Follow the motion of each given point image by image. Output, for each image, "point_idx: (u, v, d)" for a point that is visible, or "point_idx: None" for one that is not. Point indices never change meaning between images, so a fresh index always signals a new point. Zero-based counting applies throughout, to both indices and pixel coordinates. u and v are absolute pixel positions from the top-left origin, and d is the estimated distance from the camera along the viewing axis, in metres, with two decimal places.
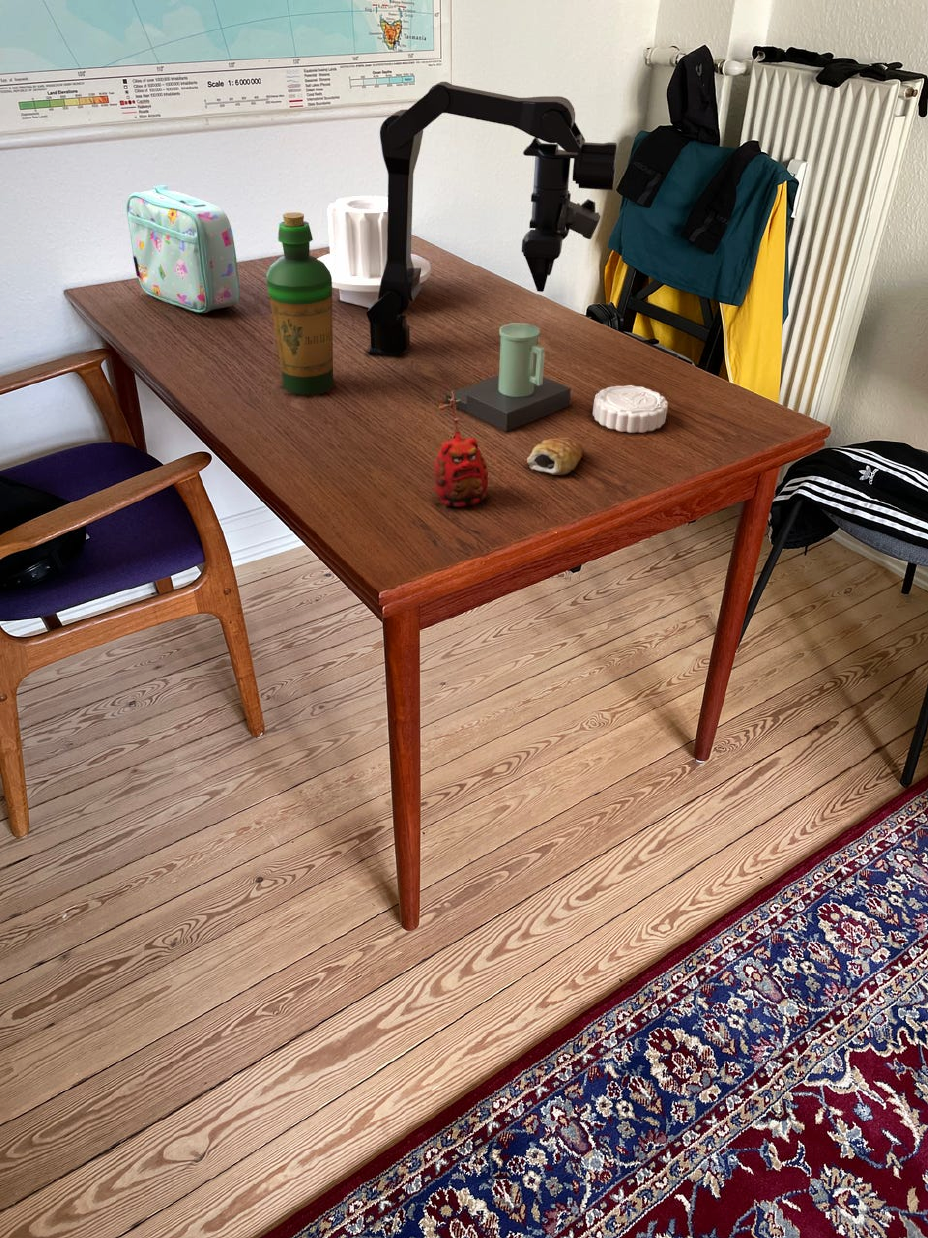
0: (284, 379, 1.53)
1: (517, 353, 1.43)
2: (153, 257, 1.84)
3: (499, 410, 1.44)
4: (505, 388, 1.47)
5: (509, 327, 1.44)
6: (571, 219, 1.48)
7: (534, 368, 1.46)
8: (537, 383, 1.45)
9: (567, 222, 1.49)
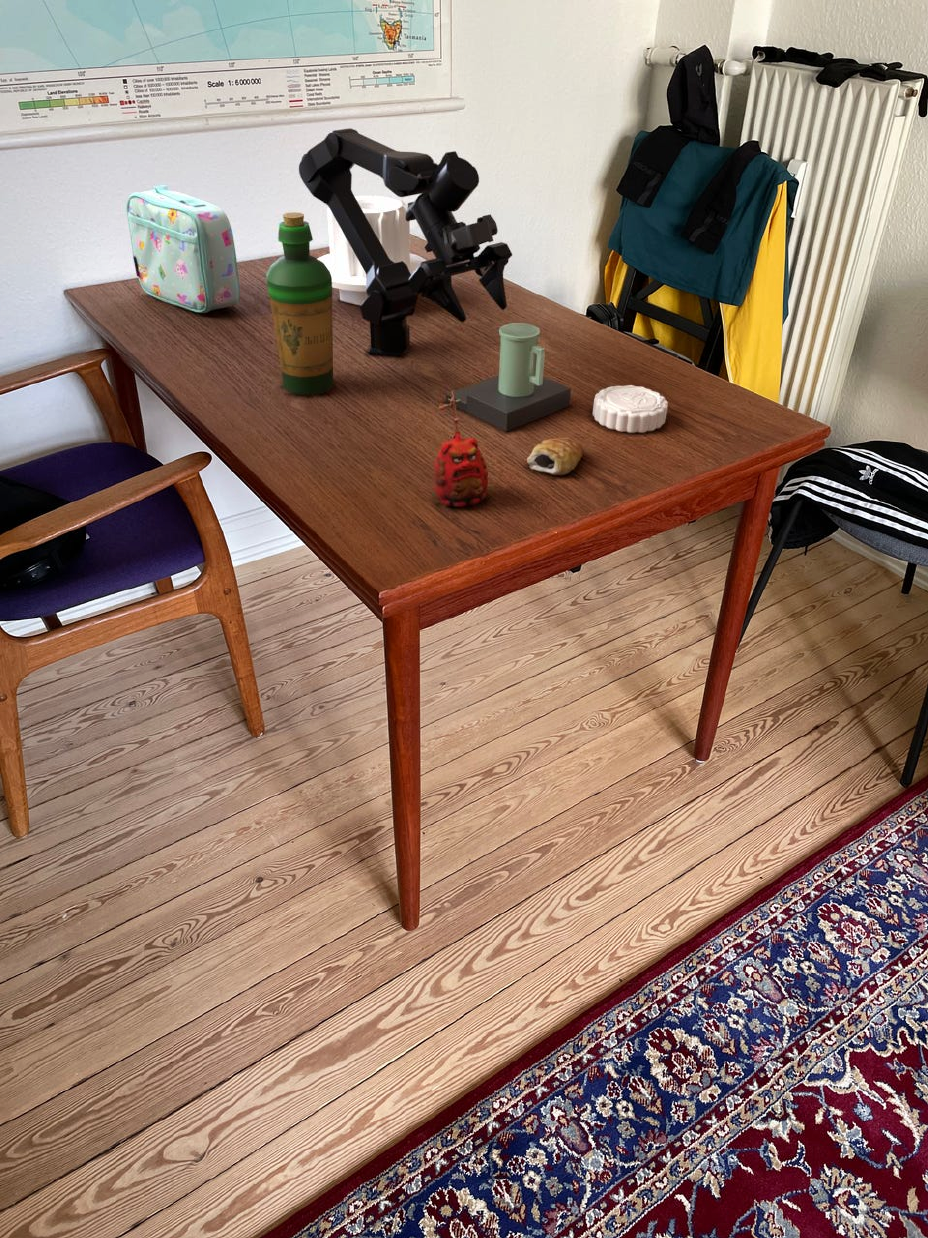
0: (284, 379, 1.53)
1: (517, 353, 1.43)
2: (153, 257, 1.84)
3: (499, 410, 1.44)
4: (505, 388, 1.47)
5: (509, 327, 1.44)
6: (452, 240, 1.43)
7: (534, 368, 1.46)
8: (537, 383, 1.45)
9: (451, 245, 1.43)
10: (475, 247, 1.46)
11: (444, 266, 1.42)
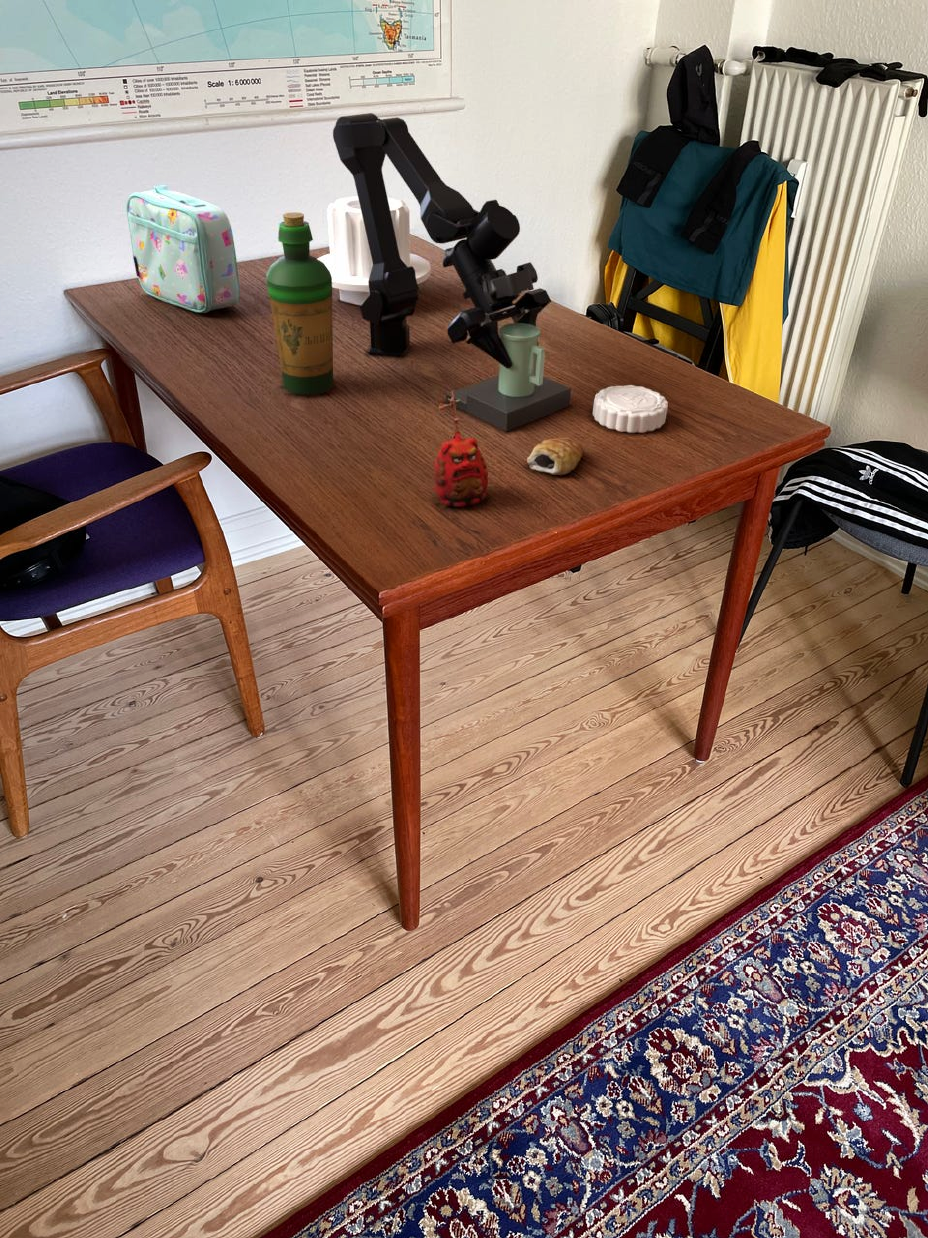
0: (284, 379, 1.53)
1: (517, 353, 1.43)
2: (153, 257, 1.84)
3: (499, 410, 1.44)
4: (505, 388, 1.47)
5: (509, 327, 1.44)
6: (492, 289, 1.41)
7: (534, 368, 1.46)
8: (537, 383, 1.45)
9: (491, 294, 1.41)
10: (514, 295, 1.44)
11: (484, 315, 1.40)
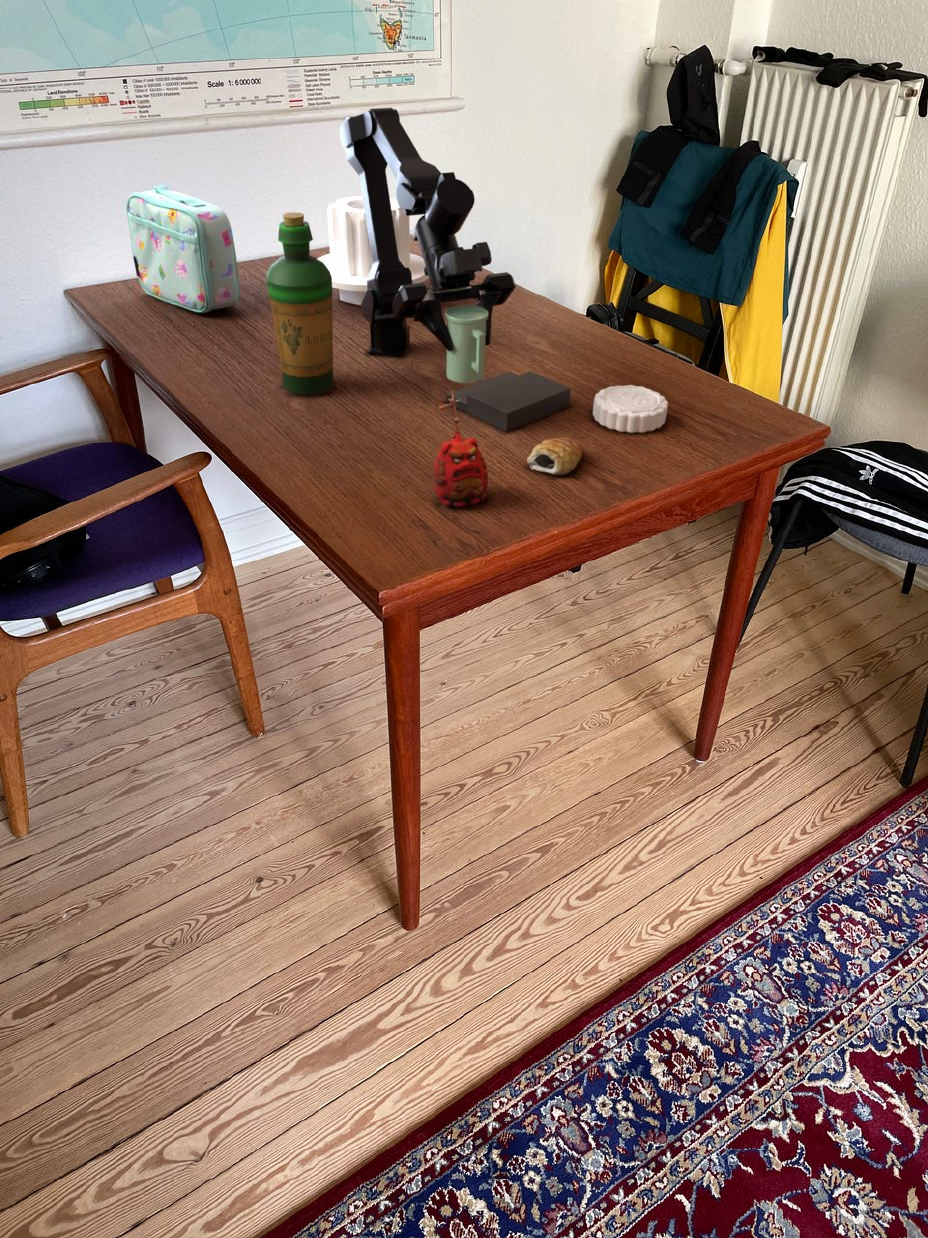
0: (284, 379, 1.53)
1: (458, 336, 1.36)
2: (153, 257, 1.84)
3: (499, 410, 1.44)
4: (449, 372, 1.40)
5: (459, 308, 1.37)
6: (440, 266, 1.34)
7: None
8: (477, 370, 1.37)
9: (439, 271, 1.35)
10: (469, 275, 1.37)
11: (425, 292, 1.34)
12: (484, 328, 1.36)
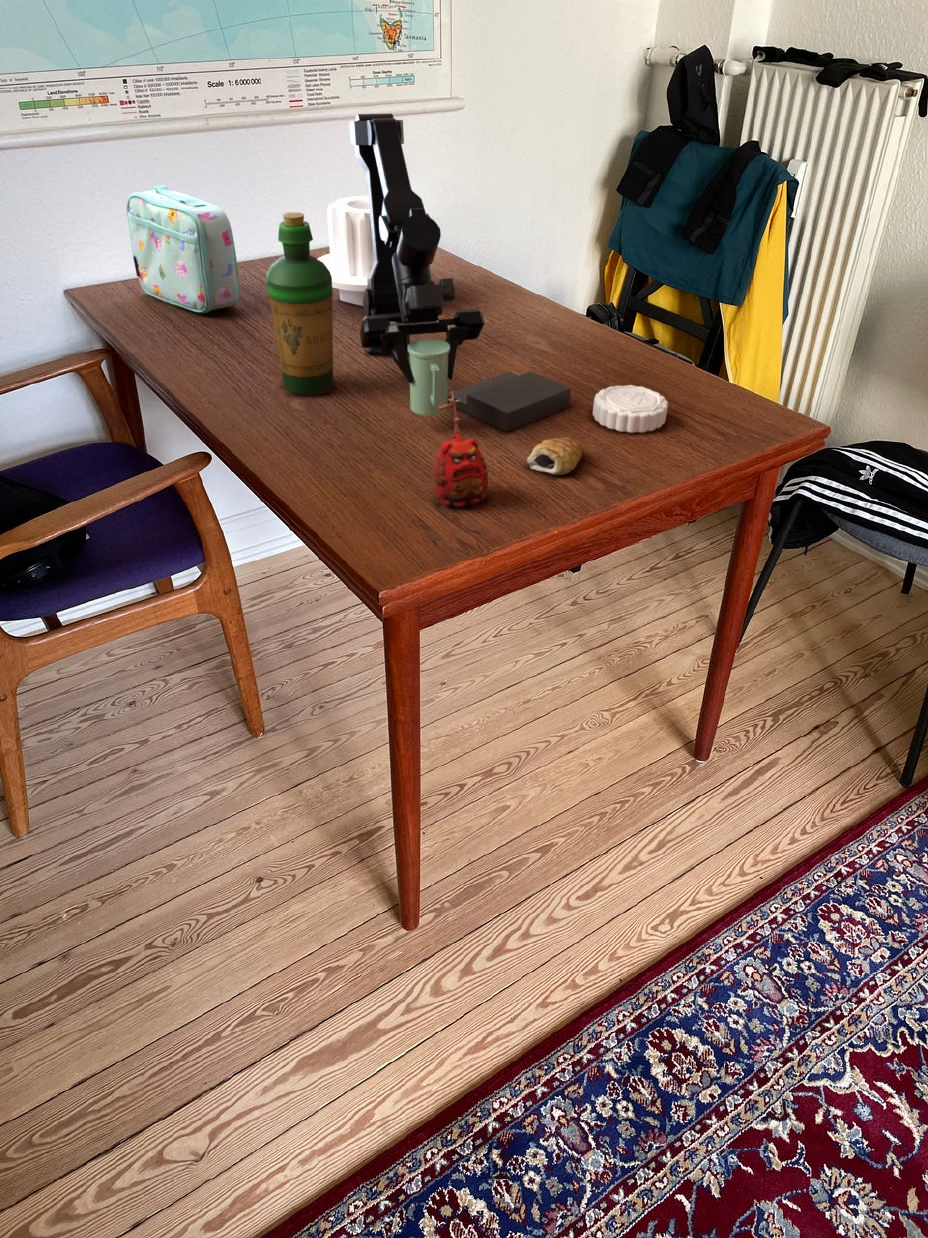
0: (284, 379, 1.53)
1: (417, 369, 1.37)
2: (153, 257, 1.84)
3: (499, 410, 1.44)
4: (410, 403, 1.42)
5: (423, 342, 1.39)
6: (405, 299, 1.36)
7: (439, 388, 1.39)
8: (433, 404, 1.38)
9: (404, 304, 1.36)
10: (436, 310, 1.38)
11: (387, 324, 1.36)
12: (444, 363, 1.37)
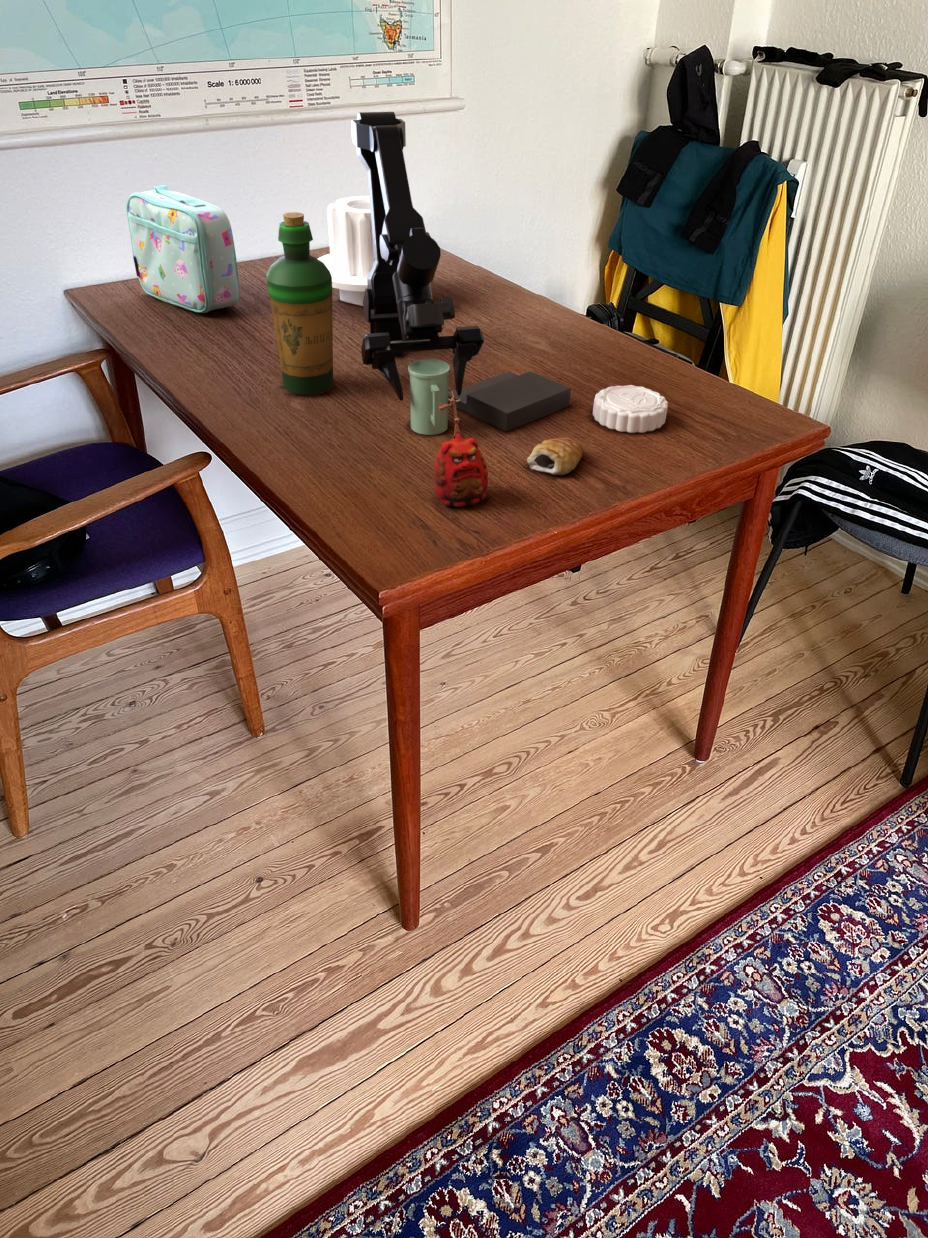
0: (284, 379, 1.53)
1: (417, 389, 1.39)
2: (153, 257, 1.84)
3: (499, 410, 1.44)
4: (411, 422, 1.44)
5: (423, 362, 1.41)
6: (406, 317, 1.38)
7: None
8: (433, 424, 1.40)
9: (405, 322, 1.38)
10: (436, 327, 1.39)
11: (388, 342, 1.37)
12: (444, 383, 1.39)
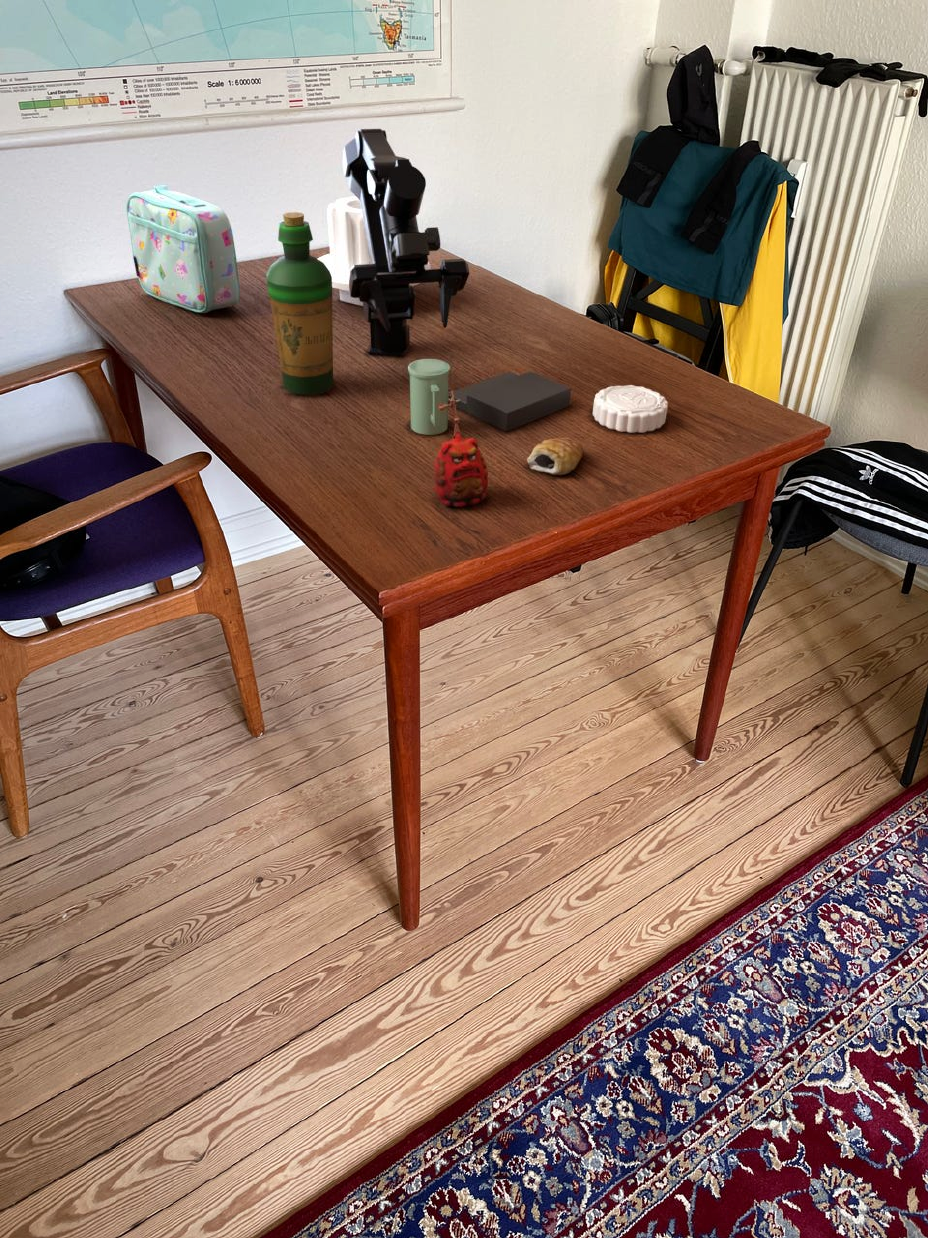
0: (284, 379, 1.53)
1: (417, 389, 1.39)
2: (153, 257, 1.84)
3: (499, 410, 1.44)
4: (411, 422, 1.44)
5: (423, 362, 1.41)
6: (392, 248, 1.40)
7: None
8: (433, 424, 1.40)
9: (391, 253, 1.41)
10: (422, 259, 1.42)
11: (375, 272, 1.40)
12: (444, 383, 1.39)
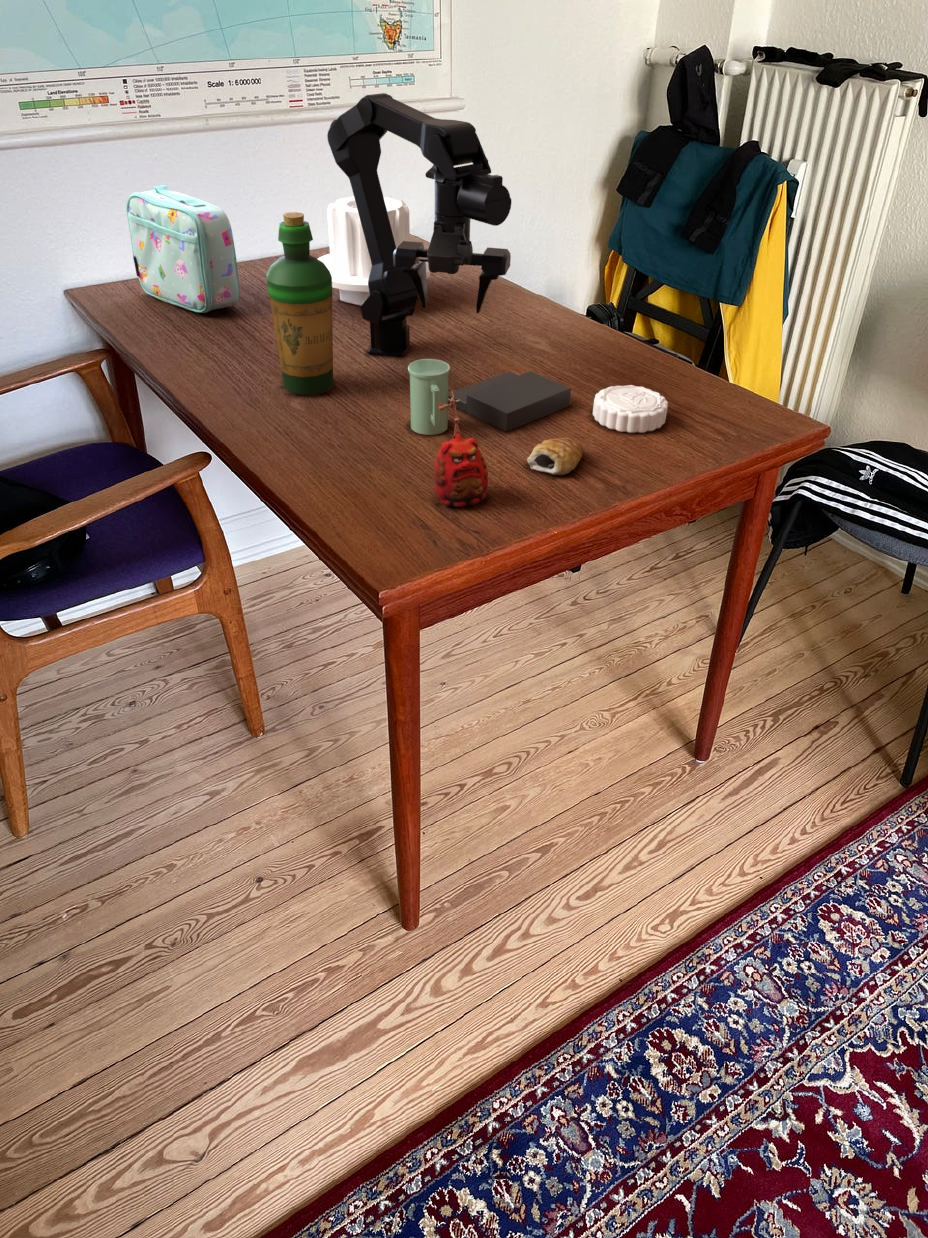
0: (284, 379, 1.53)
1: (417, 389, 1.39)
2: (153, 257, 1.84)
3: (499, 410, 1.44)
4: (411, 422, 1.44)
5: (423, 362, 1.41)
6: None
7: None
8: (433, 424, 1.40)
9: None
10: None
11: (413, 263, 1.47)
12: (444, 383, 1.39)
